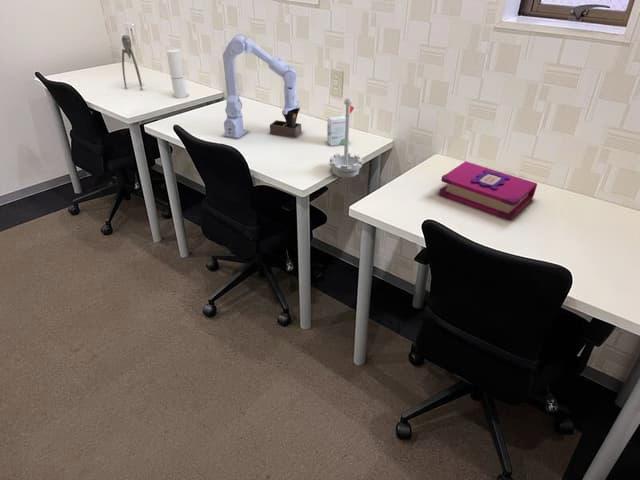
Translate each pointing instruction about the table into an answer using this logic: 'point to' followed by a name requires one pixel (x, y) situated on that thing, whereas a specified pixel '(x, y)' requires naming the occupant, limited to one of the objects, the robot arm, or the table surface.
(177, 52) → the cylindrical container
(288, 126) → the grey and orange cylinder
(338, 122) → the ink box
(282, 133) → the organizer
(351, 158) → the flag stand
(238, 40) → the robot arm
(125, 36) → the juicer
